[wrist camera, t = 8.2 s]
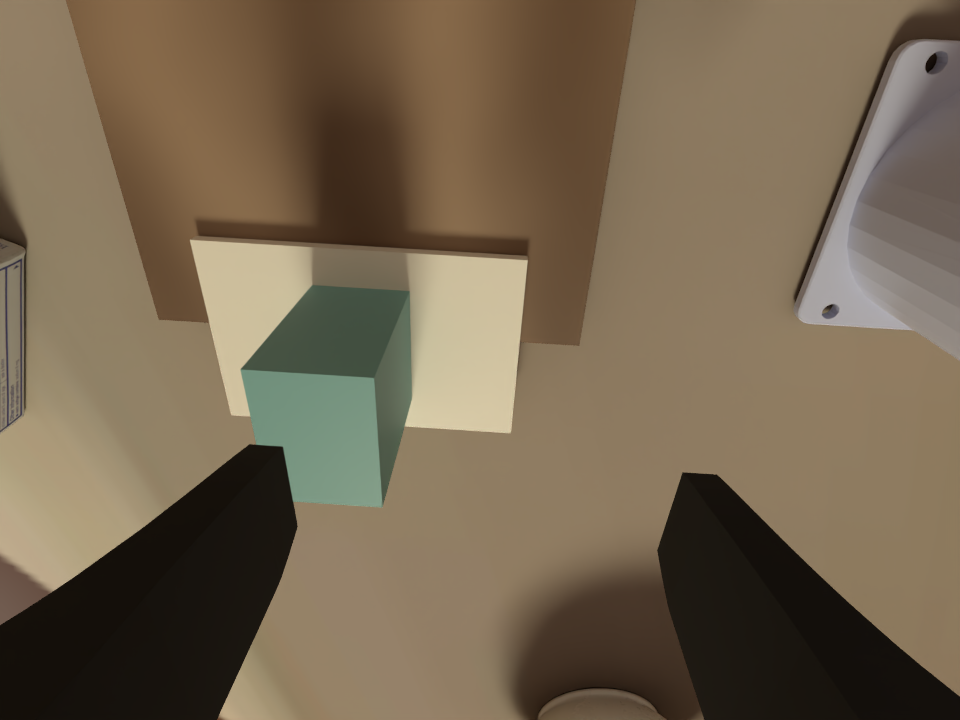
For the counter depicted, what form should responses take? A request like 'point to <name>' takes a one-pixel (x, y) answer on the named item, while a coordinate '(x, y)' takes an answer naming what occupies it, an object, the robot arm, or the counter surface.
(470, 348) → the cream plaque with block
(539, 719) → the lidded bowl
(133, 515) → the counter surface
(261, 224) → the board
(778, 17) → the counter surface
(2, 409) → the medicine box
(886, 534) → the counter surface
